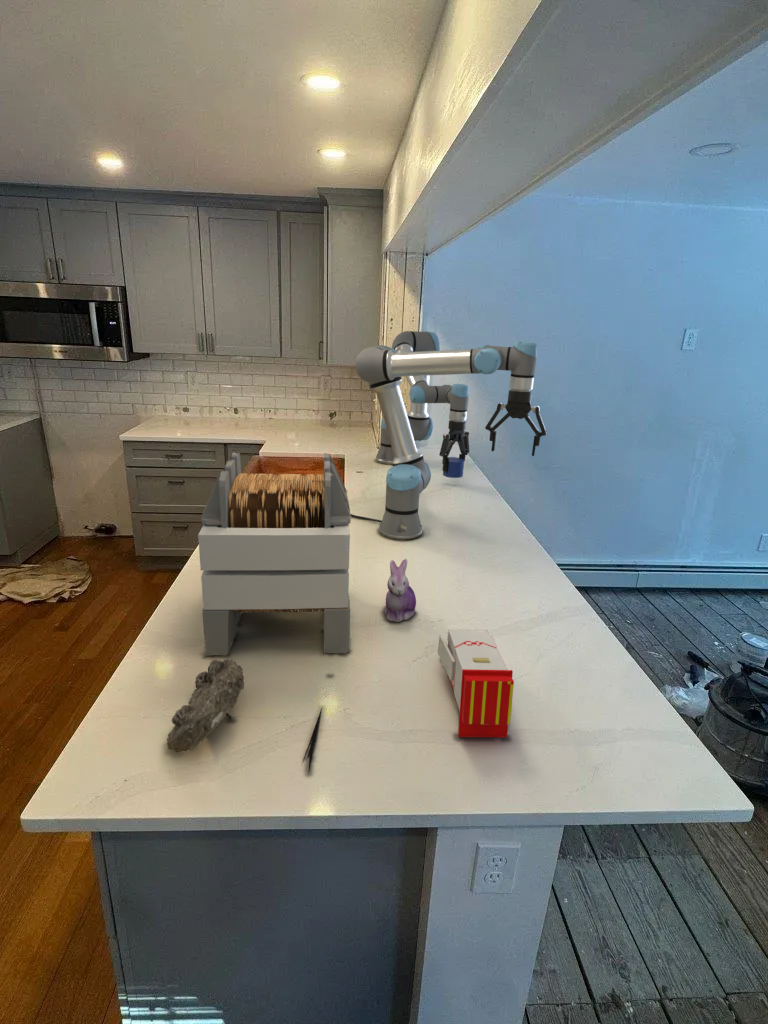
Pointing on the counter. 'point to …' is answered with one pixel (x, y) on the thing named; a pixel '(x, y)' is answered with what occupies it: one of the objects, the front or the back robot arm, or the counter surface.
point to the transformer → (275, 551)
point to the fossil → (206, 705)
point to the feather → (313, 740)
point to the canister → (454, 468)
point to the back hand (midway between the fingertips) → (453, 469)
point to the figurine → (399, 594)
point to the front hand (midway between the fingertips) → (512, 452)
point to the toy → (478, 682)
